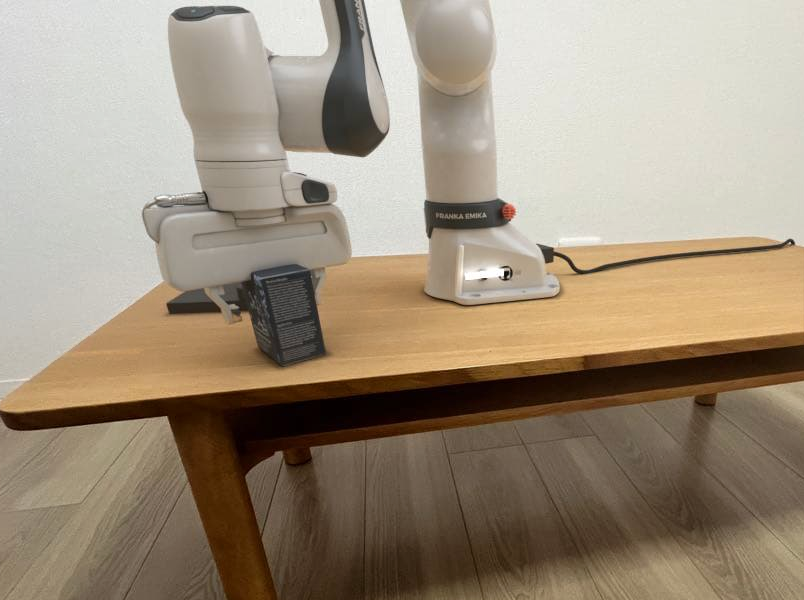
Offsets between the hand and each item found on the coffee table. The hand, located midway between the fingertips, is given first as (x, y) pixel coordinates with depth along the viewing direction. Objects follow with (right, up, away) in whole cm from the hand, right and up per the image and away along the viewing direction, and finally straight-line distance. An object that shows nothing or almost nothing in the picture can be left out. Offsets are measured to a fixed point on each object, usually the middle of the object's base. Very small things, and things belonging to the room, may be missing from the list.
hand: (275, 313), depth 64 cm
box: (+1, -5, +2) cm, 5 cm away
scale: (-15, +6, +22) cm, 28 cm away
